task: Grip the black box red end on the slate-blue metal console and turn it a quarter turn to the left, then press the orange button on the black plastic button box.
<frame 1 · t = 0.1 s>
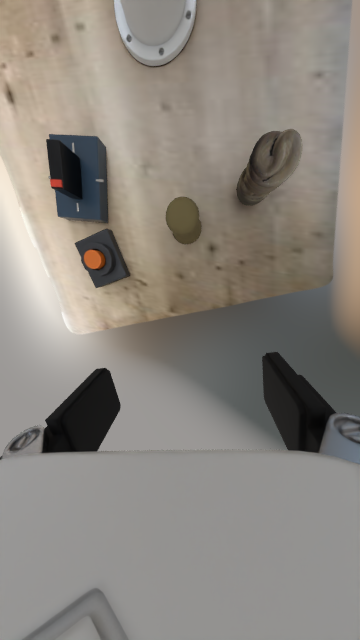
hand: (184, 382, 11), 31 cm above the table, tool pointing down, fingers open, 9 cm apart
start button: (94, 259, 36), point 4 cm above the table, slide at 0.1 cm
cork: (186, 228, 36), on the table
black box red end: (65, 172, 31), point 6 cm above the table, hinge at 0.0°
button box: (106, 260, 40), on the table
brown ridged cylinder: (246, 198, 34), on the table
console: (85, 185, 36), on the table
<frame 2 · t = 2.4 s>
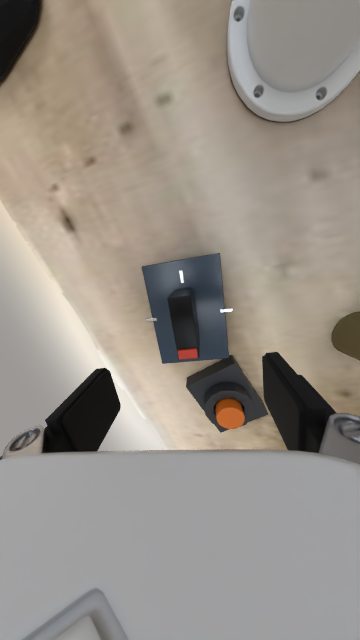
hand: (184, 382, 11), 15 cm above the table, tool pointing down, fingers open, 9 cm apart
start button: (229, 413, 24), point 4 cm above the table, slide at 0.1 cm
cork: (356, 333, 23), on the table
black box red end: (185, 321, 19), point 6 cm above the table, hinge at 0.0°
gaming mouse: (6, 17, 18), on the table
button box: (225, 390, 28), on the table
console: (189, 308, 25), on the table
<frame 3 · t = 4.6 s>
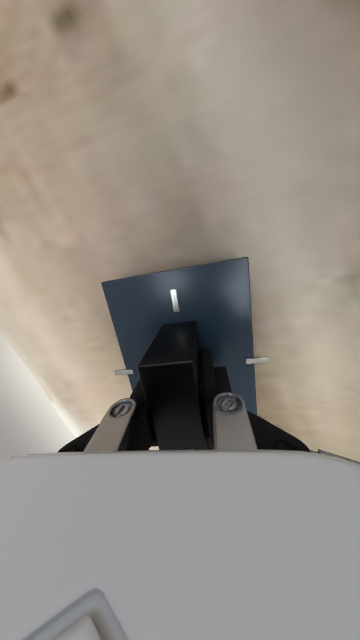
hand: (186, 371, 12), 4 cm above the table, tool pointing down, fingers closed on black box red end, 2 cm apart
black box red end: (183, 392, 10), point 6 cm above the table, hinge at 0.0°, touching gripper
console: (189, 346, 15), on the table
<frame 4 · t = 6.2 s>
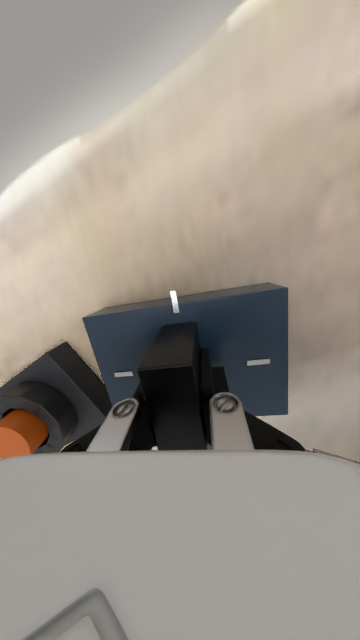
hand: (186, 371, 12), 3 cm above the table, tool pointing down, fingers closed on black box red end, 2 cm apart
start button: (18, 434, 14), point 4 cm above the table, slide at 0.1 cm
black box red end: (183, 394, 10), point 6 cm above the table, hinge at 89.8°, touching gripper
button box: (61, 395, 18), on the table
console: (189, 347, 15), on the table
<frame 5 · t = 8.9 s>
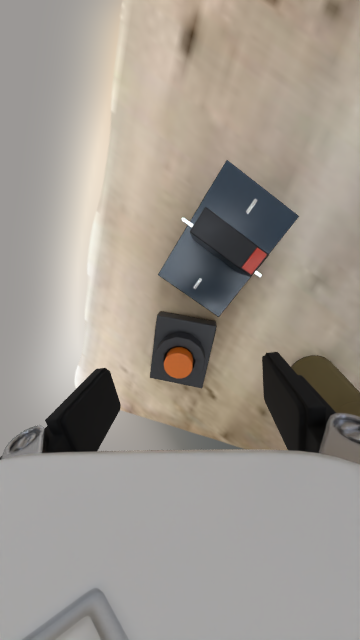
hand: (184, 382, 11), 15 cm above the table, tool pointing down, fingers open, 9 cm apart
start button: (178, 362, 23), point 4 cm above the table, slide at 0.1 cm
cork: (310, 373, 26), on the table
black box red end: (225, 245, 17), point 6 cm above the table, hinge at 89.7°
button box: (182, 346, 27), on the table
console: (219, 250, 22), on the table
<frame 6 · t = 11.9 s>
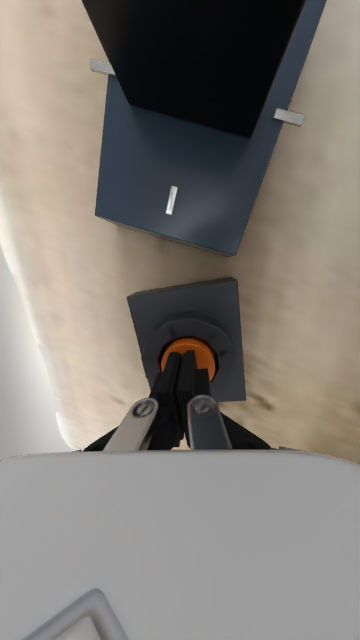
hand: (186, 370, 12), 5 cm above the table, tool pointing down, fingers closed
start button: (188, 361, 13), point 4 cm above the table, slide at -0.8 cm, touching gripper
black box red end: (193, 24, 6), point 6 cm above the table, hinge at 89.7°
button box: (191, 340, 16), on the table
console: (196, 136, 11), on the table
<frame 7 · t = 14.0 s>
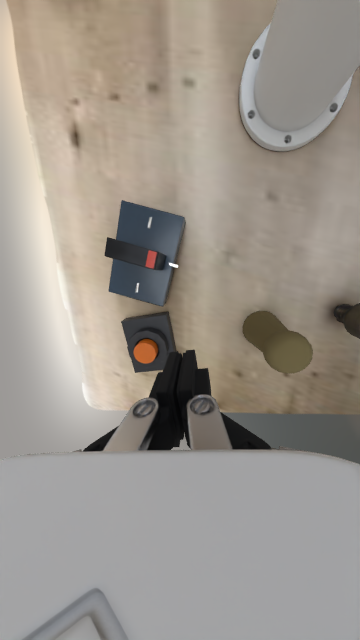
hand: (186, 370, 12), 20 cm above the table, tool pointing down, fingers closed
start button: (146, 351, 29), point 4 cm above the table, slide at 0.1 cm
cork: (260, 327, 30), on the table
black box red end: (137, 255, 24), point 6 cm above the table, hinge at 89.7°
button box: (152, 340, 33), on the table
brown ridged cylinder: (339, 312, 29), on the table
console: (148, 258, 29), on the table
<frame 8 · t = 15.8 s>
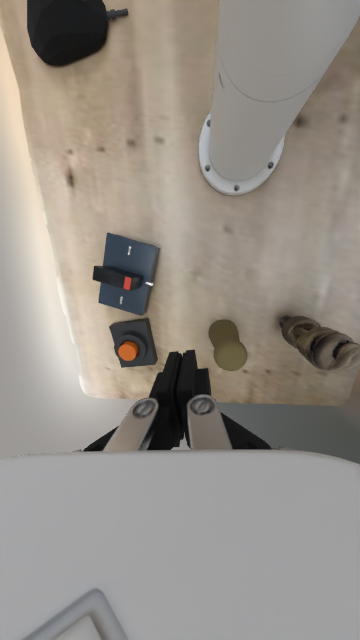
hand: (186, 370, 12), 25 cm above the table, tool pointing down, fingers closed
start button: (128, 350, 36), point 4 cm above the table, slide at 0.1 cm
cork: (222, 332, 37), on the table
black box red end: (119, 277, 30), point 6 cm above the table, hinge at 89.7°
gaming mouse: (81, 32, 26), on the table
button box: (136, 341, 40), on the table
brown ridged cylinder: (285, 321, 35), on the table
console: (131, 275, 35), on the table
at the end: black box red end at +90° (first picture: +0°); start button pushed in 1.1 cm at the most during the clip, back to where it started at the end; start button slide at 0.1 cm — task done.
